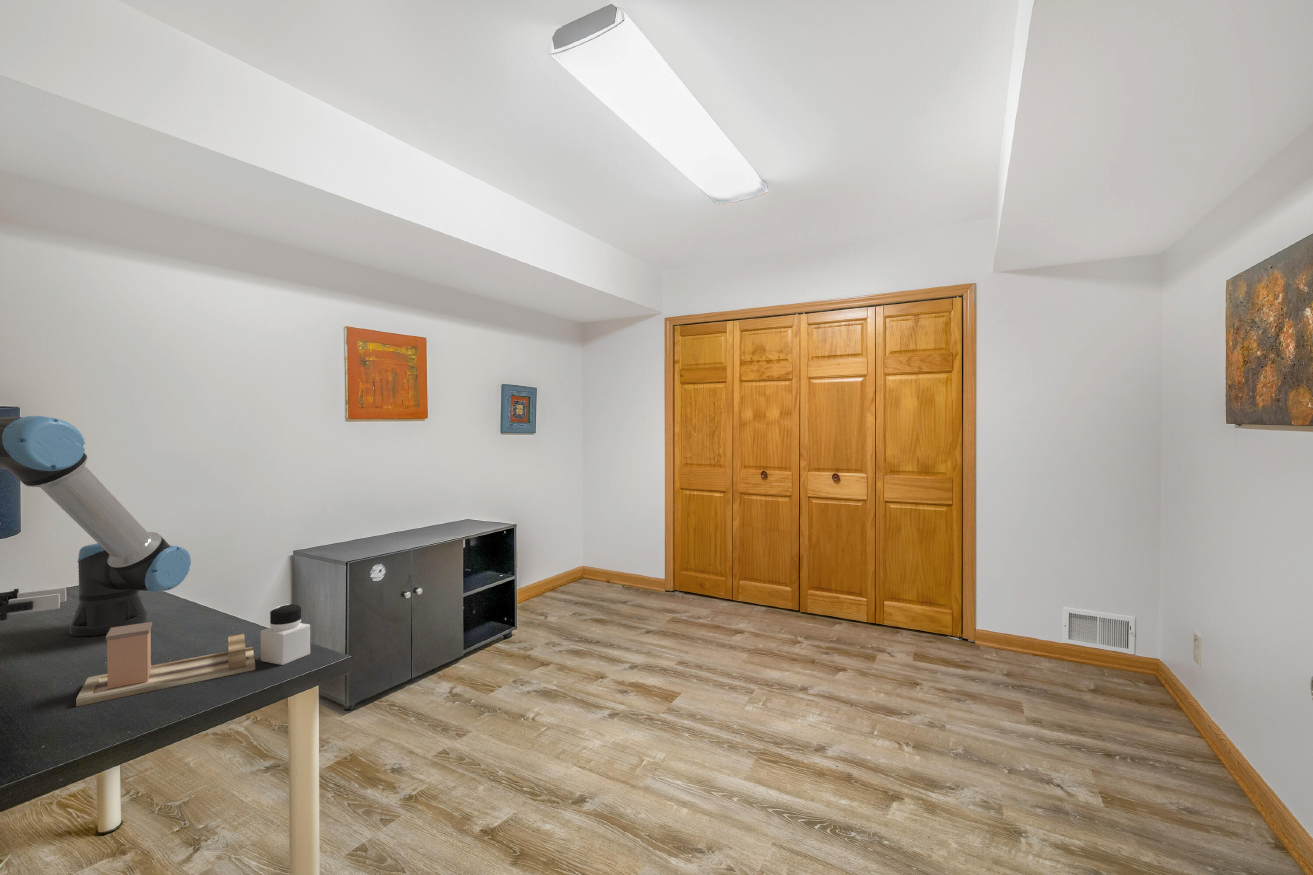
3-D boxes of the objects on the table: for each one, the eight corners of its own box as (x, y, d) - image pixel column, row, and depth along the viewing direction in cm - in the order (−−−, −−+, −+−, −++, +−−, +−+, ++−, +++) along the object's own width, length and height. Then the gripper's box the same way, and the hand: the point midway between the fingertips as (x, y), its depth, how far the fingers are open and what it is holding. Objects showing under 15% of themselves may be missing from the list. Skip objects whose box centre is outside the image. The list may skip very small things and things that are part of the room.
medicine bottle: (311, 653, 135) (311, 603, 134) (282, 665, 128) (282, 612, 128) (289, 650, 137) (288, 600, 137) (259, 661, 130) (259, 609, 130)
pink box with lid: (111, 678, 118) (110, 627, 118) (152, 670, 122) (151, 621, 122) (106, 689, 113) (105, 636, 113) (149, 681, 117) (148, 629, 117)
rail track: (88, 684, 118) (88, 660, 118) (253, 652, 135) (253, 631, 135) (76, 706, 109) (76, 680, 109) (255, 669, 126) (255, 647, 125)
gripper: (-107, 628, 105) (72, 605, 119) (-160, 659, 90) (51, 629, 104) (-108, 587, 105) (72, 569, 119) (-160, 612, 90) (51, 588, 104)
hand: (62, 597), depth 112 cm, fingers open, 5 cm apart
